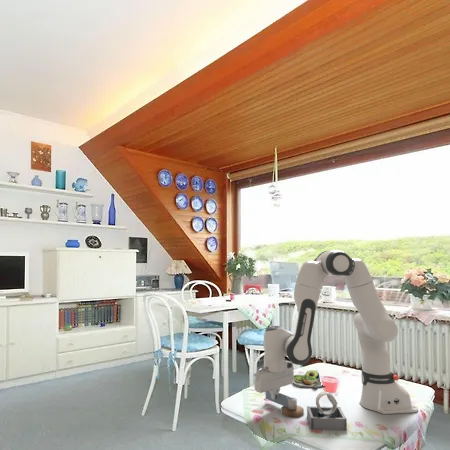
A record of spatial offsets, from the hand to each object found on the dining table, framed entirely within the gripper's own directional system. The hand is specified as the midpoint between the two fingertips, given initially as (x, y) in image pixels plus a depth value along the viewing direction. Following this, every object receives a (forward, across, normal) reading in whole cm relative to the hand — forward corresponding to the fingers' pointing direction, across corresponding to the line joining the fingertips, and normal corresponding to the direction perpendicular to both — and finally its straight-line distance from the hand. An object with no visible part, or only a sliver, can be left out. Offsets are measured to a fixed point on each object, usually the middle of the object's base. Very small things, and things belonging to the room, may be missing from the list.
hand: (274, 398), depth 163 cm
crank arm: (+2, +2, -1) cm, 3 cm away
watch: (+3, +5, -23) cm, 24 cm away
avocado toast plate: (+4, +37, +13) cm, 39 cm away
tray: (+4, +5, -22) cm, 23 cm away
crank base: (+4, +2, -8) cm, 9 cm away
